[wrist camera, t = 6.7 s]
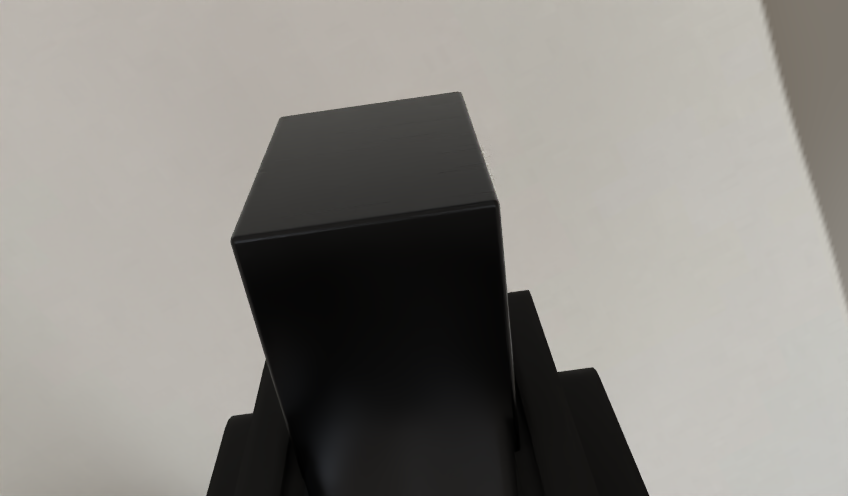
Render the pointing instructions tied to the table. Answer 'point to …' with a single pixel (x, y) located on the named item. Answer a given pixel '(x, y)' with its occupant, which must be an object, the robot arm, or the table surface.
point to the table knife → (384, 300)
